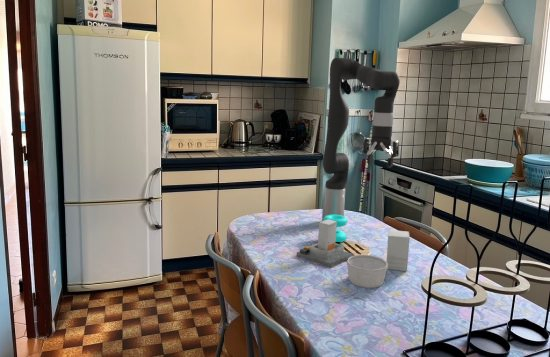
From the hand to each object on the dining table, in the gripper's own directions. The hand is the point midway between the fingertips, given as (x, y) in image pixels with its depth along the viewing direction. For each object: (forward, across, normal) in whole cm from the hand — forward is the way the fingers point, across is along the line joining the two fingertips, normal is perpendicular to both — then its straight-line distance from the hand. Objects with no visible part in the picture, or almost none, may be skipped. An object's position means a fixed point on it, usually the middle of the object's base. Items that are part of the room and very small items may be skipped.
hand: (379, 166), depth 181 cm
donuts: (+33, -16, -5) cm, 37 cm away
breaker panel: (+33, -7, -24) cm, 41 cm away
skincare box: (+32, -7, -23) cm, 40 cm away
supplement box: (+33, +17, -13) cm, 40 cm away
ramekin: (+33, +16, -32) cm, 49 cm away
